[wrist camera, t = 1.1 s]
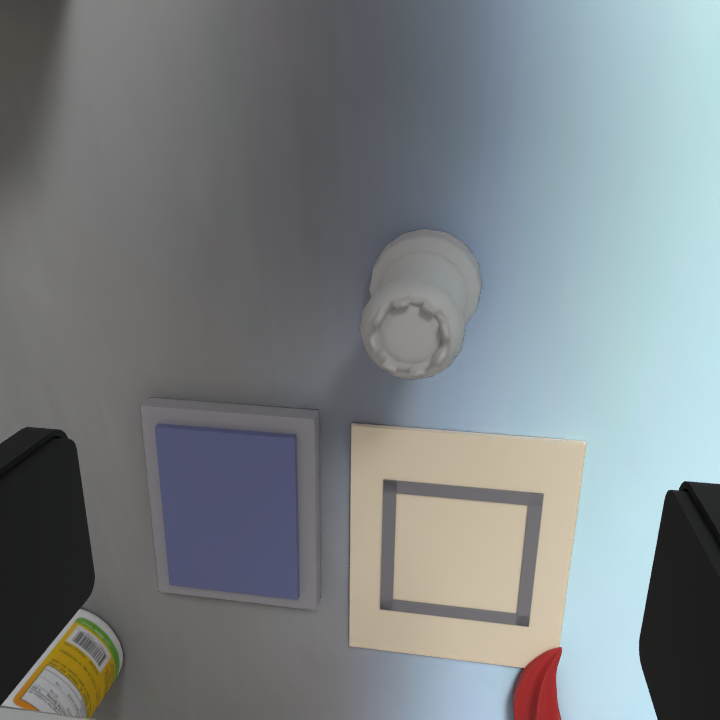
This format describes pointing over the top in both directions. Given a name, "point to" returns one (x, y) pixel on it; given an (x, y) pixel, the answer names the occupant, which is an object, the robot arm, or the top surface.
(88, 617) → the supplement bottle
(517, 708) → the cayenne pepper
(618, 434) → the top surface
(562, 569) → the print card
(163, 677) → the top surface
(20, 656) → the robot arm
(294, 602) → the ink pad
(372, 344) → the rook chess piece
